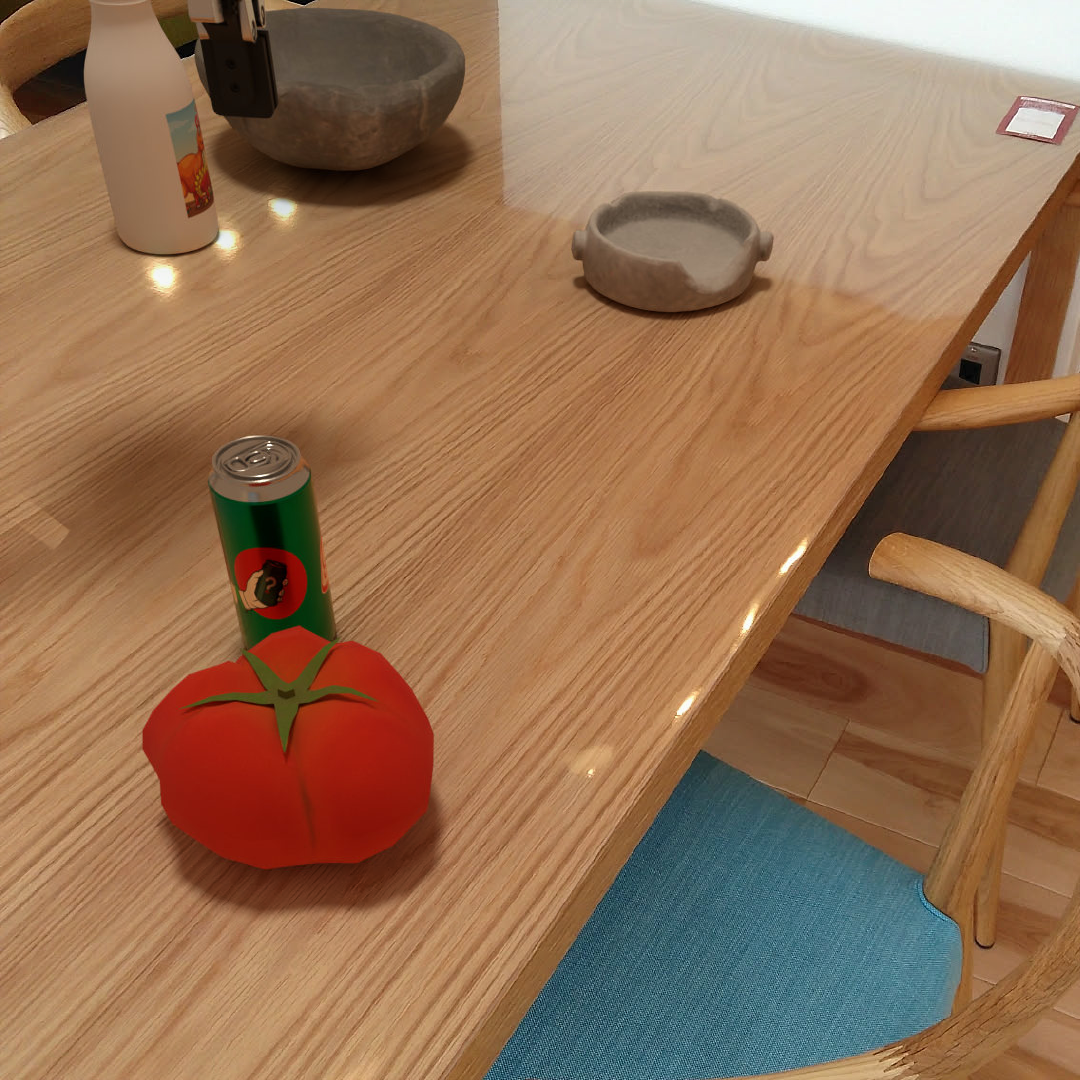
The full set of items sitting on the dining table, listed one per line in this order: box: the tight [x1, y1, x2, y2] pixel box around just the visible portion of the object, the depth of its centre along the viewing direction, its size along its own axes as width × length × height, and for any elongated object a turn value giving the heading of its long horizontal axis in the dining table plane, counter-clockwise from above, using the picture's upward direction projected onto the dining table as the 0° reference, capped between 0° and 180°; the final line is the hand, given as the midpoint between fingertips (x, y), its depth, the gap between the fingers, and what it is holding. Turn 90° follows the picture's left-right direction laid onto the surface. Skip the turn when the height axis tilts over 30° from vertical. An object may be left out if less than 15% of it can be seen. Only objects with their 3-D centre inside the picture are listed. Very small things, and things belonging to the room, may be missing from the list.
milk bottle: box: [83, 0, 220, 255], centre depth 104 cm, size 8×8×20 cm
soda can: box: [207, 434, 337, 651], centre depth 73 cm, size 5×5×12 cm
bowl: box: [194, 7, 466, 172], centre depth 122 cm, size 23×22×10 cm
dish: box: [571, 190, 775, 313], centre depth 111 cm, size 14×14×5 cm
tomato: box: [141, 626, 435, 870], centre depth 66 cm, size 14×13×9 cm
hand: (246, 110), depth 75 cm, fingers closed
